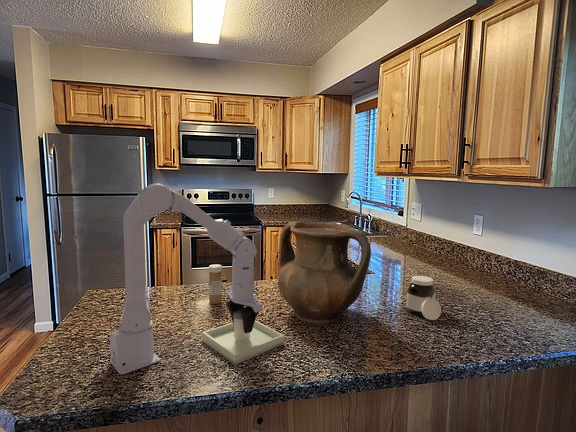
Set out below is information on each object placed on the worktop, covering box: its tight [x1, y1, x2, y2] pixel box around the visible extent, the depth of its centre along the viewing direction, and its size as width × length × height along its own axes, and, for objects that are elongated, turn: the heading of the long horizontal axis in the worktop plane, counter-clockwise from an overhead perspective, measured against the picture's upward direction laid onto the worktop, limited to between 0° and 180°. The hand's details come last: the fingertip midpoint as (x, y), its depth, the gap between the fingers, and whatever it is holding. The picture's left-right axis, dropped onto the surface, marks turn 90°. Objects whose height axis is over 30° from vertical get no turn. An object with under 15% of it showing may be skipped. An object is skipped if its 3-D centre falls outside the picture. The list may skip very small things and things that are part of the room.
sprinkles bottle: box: [208, 263, 223, 305], centre depth 127 cm, size 5×5×13 cm
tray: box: [201, 319, 285, 365], centre depth 98 cm, size 16×16×2 cm
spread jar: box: [406, 275, 442, 321], centre depth 119 cm, size 12×11×12 cm
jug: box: [277, 221, 372, 325], centre depth 117 cm, size 32×28×30 cm
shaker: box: [234, 310, 250, 341], centre depth 97 cm, size 4×4×7 cm
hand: (242, 329), depth 98 cm, fingers closed on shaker, 4 cm apart
